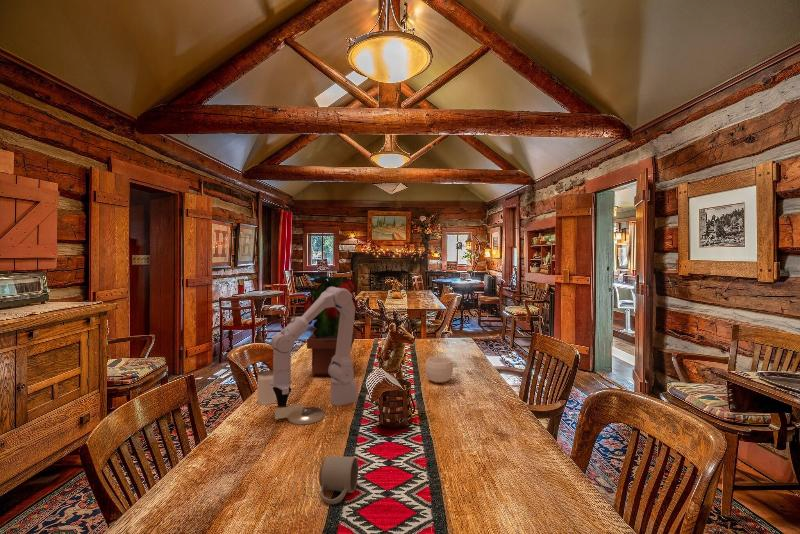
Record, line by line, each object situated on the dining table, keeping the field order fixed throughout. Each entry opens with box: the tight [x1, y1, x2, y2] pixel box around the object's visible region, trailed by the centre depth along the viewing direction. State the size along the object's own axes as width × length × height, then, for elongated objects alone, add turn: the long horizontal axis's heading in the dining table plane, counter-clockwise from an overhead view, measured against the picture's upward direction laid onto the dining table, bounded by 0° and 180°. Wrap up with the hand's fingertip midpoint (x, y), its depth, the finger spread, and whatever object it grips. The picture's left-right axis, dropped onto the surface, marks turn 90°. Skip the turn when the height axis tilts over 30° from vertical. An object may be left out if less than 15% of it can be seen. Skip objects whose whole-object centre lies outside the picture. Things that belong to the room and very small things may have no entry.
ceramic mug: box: [318, 455, 359, 505], centre depth 96 cm, size 11×8×8 cm
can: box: [257, 370, 277, 406], centre depth 149 cm, size 6×6×12 cm
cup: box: [424, 356, 454, 384], centre depth 179 cm, size 12×12×10 cm
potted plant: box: [303, 275, 359, 378], centre depth 189 cm, size 22×22×45 cm
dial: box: [274, 403, 325, 426], centre depth 135 cm, size 16×12×5 cm
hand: (281, 408), depth 137 cm, fingers closed
